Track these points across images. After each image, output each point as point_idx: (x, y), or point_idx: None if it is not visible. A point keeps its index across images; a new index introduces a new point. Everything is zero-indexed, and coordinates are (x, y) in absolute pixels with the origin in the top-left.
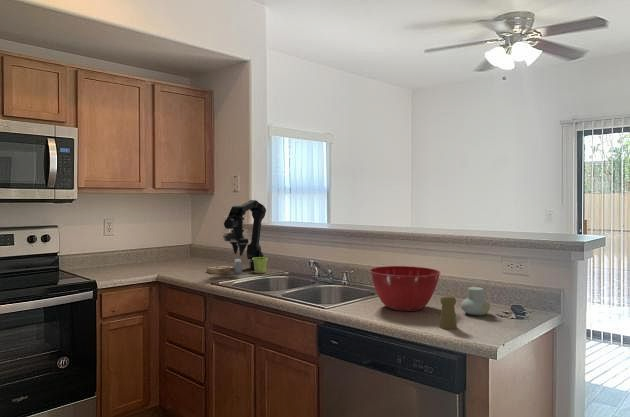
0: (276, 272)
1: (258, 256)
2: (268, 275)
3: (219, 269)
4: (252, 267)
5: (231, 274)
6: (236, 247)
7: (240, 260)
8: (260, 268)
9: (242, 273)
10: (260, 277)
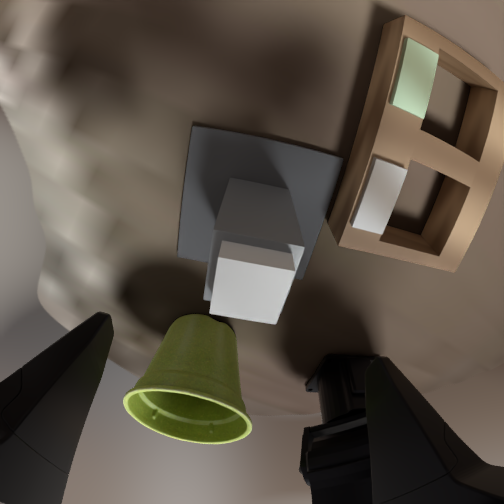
0: None
1: (305, 444)
2: None
3: (388, 85)
4: (341, 369)
5: (242, 134)
6: (388, 464)
7: (211, 300)
8: (158, 348)
9: None
10: (55, 255)
